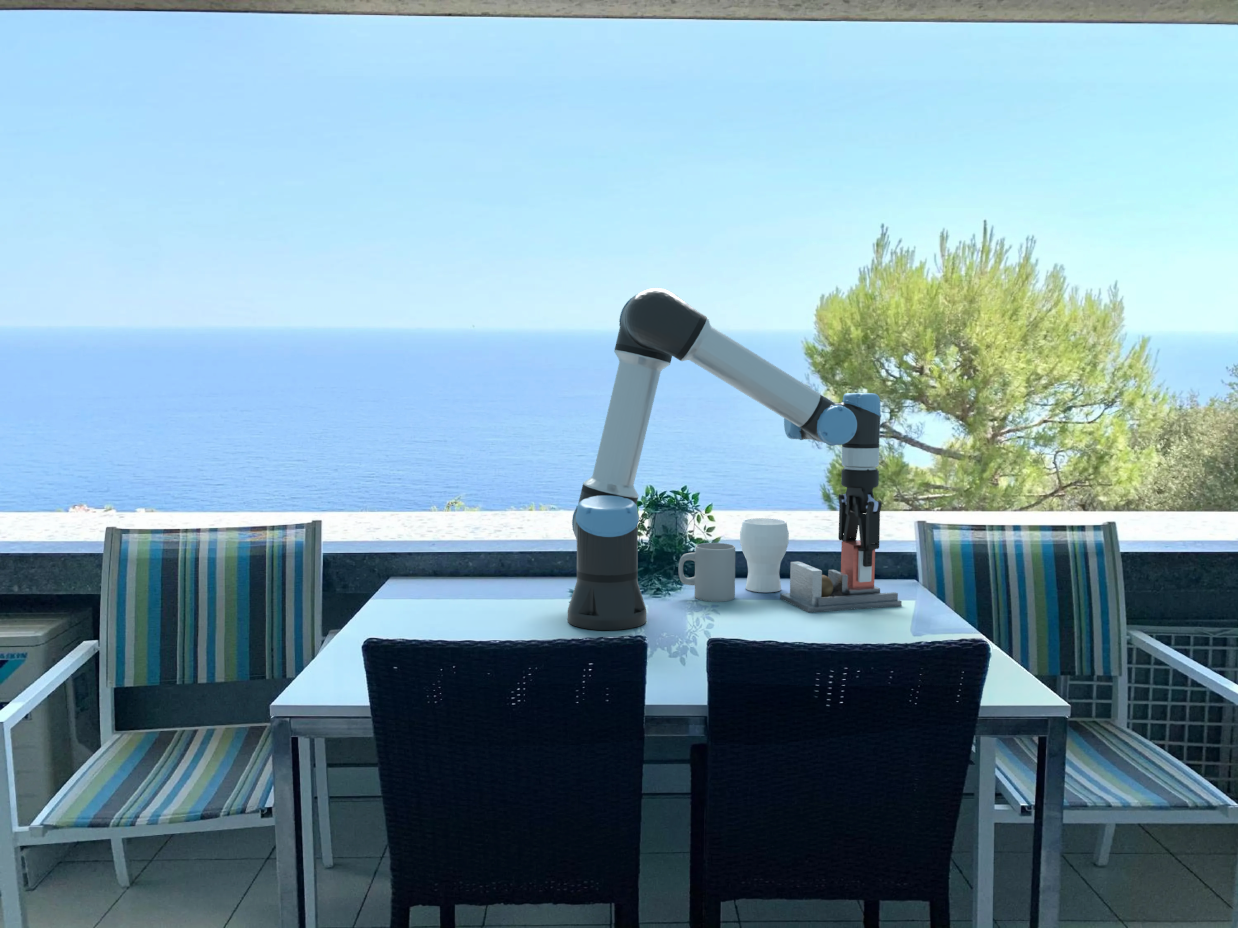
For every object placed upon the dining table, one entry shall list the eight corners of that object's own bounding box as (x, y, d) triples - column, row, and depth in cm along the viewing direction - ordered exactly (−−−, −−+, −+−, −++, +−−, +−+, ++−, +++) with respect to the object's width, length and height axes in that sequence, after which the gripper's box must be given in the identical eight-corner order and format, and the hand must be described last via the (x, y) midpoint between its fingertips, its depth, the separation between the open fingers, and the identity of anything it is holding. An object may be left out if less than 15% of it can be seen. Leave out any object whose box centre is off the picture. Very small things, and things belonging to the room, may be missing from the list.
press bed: (808, 612, 204) (809, 572, 203) (780, 598, 216) (780, 560, 216) (901, 605, 210) (902, 567, 209) (868, 592, 223) (869, 556, 222)
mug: (732, 592, 222) (733, 542, 221) (736, 601, 213) (737, 549, 212) (677, 592, 222) (677, 542, 221) (679, 601, 213) (679, 549, 212)
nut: (815, 602, 209) (815, 577, 208) (804, 596, 214) (804, 573, 213) (837, 600, 210) (837, 576, 210) (825, 595, 215) (826, 571, 215)
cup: (791, 594, 220) (792, 525, 219) (741, 594, 221) (742, 525, 219) (784, 584, 231) (785, 518, 229) (736, 583, 231) (737, 517, 230)
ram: (844, 600, 209) (845, 547, 208) (825, 592, 217) (826, 540, 216) (879, 597, 211) (881, 545, 210) (859, 589, 219) (861, 538, 218)
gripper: (900, 471, 204) (896, 586, 206) (854, 463, 221) (851, 569, 224) (866, 472, 202) (863, 588, 204) (822, 464, 219) (820, 571, 222)
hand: (857, 578), depth 214 cm, fingers closed on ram, 5 cm apart
